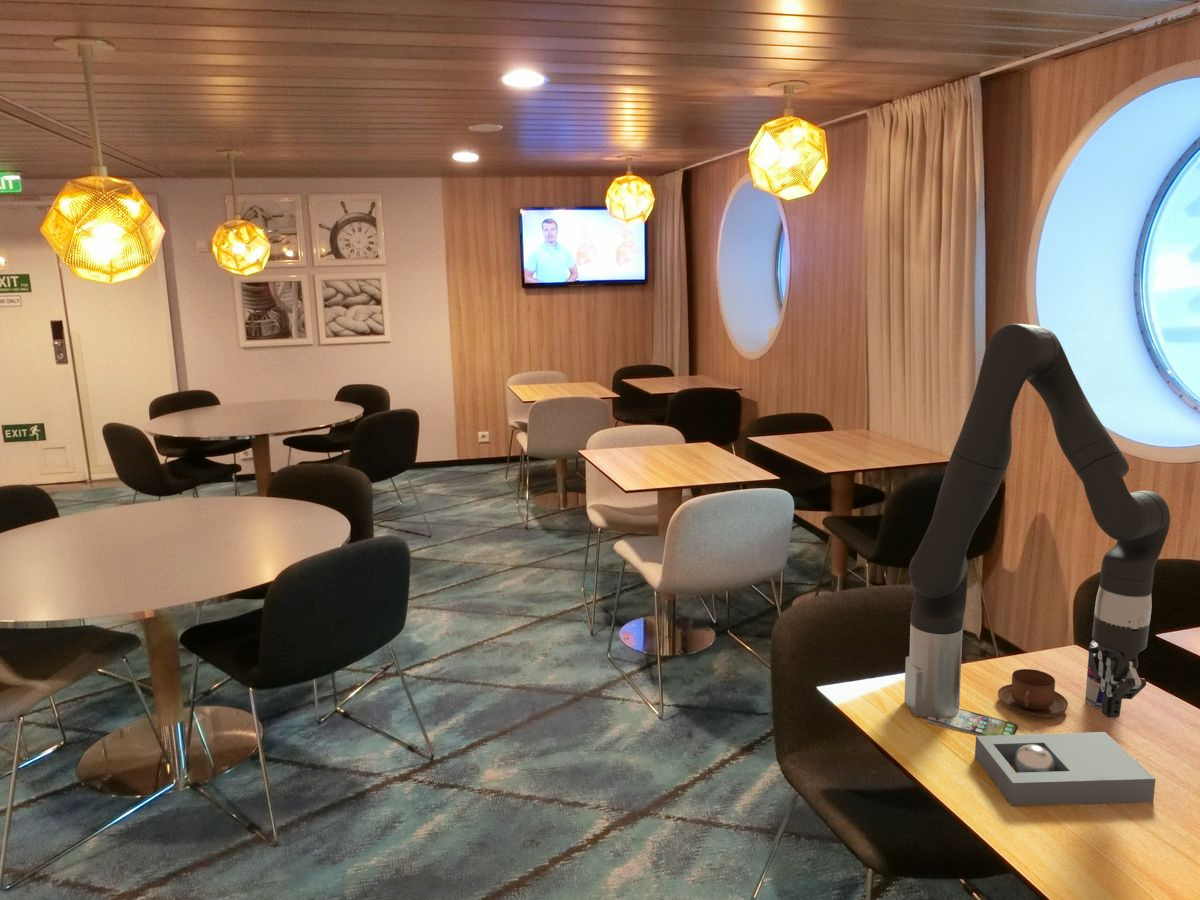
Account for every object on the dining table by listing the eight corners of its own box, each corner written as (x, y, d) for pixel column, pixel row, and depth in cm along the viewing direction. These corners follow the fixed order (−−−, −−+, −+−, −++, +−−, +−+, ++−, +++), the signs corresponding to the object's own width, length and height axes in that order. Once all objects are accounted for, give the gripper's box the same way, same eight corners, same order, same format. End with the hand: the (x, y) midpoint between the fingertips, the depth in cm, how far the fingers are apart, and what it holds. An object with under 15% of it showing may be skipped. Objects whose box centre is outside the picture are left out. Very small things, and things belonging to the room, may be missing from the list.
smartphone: (1011, 743, 152) (924, 719, 160) (1010, 748, 152) (923, 724, 161) (1019, 724, 158) (934, 701, 166) (1018, 729, 158) (934, 707, 167)
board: (1103, 753, 148) (1105, 731, 147) (1153, 801, 134) (1155, 778, 133) (974, 756, 148) (975, 735, 148) (1011, 805, 135) (1012, 782, 134)
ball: (1050, 749, 137) (1068, 777, 138) (1031, 730, 143) (1048, 758, 144) (1018, 768, 137) (1036, 797, 138) (1000, 749, 143) (1017, 776, 144)
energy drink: (1085, 707, 163) (1089, 648, 161) (1084, 694, 168) (1089, 637, 165) (1118, 712, 161) (1123, 653, 158) (1116, 699, 165) (1121, 641, 163)
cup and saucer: (1073, 726, 157) (1075, 695, 156) (1001, 718, 161) (1003, 688, 159) (1060, 696, 168) (1062, 666, 167) (994, 689, 172) (995, 660, 171)
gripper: (1076, 599, 142) (1066, 695, 145) (1120, 633, 129) (1108, 737, 132) (1122, 599, 141) (1111, 695, 145) (1172, 633, 128) (1158, 737, 132)
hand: (1110, 715), depth 139 cm, fingers closed
